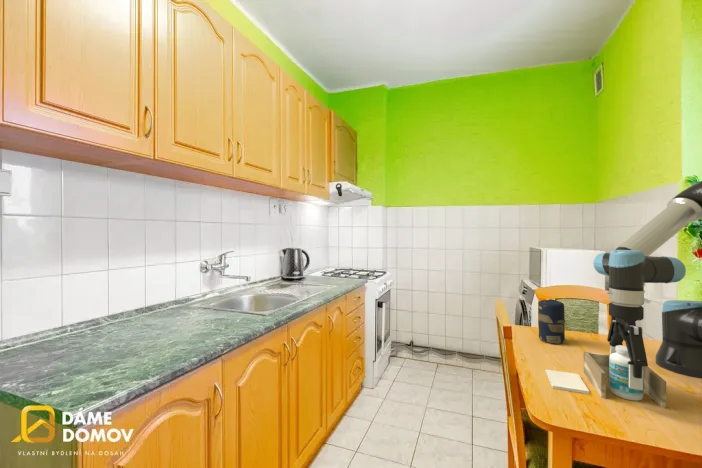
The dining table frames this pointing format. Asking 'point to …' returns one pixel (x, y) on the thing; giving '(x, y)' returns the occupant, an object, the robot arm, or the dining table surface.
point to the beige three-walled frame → (599, 370)
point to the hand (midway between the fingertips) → (625, 378)
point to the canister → (551, 321)
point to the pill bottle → (622, 375)
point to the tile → (566, 381)
